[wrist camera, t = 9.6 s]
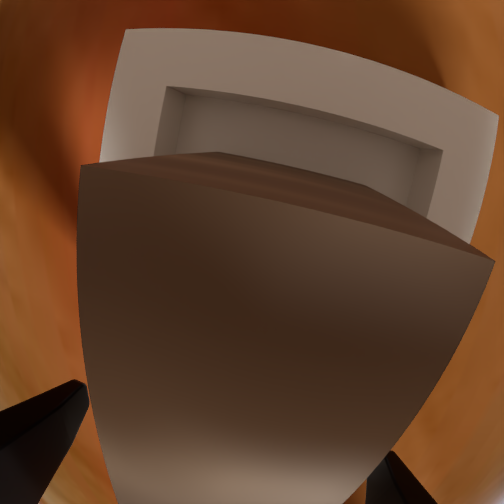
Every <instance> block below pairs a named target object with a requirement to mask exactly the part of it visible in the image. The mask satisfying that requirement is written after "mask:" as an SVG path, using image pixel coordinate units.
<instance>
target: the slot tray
mask: <svg viewBox="0 0 504 504" xmlns="http://www.w3.org/2000/svg"><path fill="white" fill-rule="evenodd" d="M498 119H499V116H498V115H497V114H495V113H493V112H491V111H489V110H488V109H486V108H484V107H482V106H480V105H478V104H476V103H474V102H472V101H470V100H468V99H466V98H464V97H462V96H460V95H458V94H456V93H454V92H452V91H450V90H448V89H445V88H443V87H441V86H439V85H436V84H434V83H432V82H429V81H427V80H424V79H422V78H420V77H417V76H414V75H412V74H409V73H407V72H404V71H401V70H399V69H396V68H393V67H390V66H387V65H384V64H381V63H378V62H375V61H372V60H369V59H366V58H362V57H359V56H355V55H352V54H348V53H345V52H341V51H337V50H333V49H329V48H325V47H321V46H317V45H312V44H308V43H303V42H298V41H293V40H287V39H282V38H276V37H270V36H263V35H256V34H248V33H240V32H230V31H219V30H206V29H184V28H144V29H126V31H125V34H124V38H123V41H122V45H121V49H120V53H119V57H118V61H117V65H116V69H115V74H114V78H113V83H112V87H111V92H110V97H109V103H108V108H107V114H106V120H105V126H104V132H103V139H102V146H101V154H100V162H108V161H115V160H124V159H132V158H141V157H151V156H162V155H174V154H187V153H203V152H223V153H228V154H234V155H239V156H244V157H249V158H254V159H259V160H264V161H269V162H274V163H278V164H283V165H287V166H292V167H296V168H300V169H304V170H309V171H313V172H317V173H321V174H325V175H329V176H333V177H337V178H340V179H344V180H348V181H352V182H355V183H359V184H363V185H366V186H368V187H370V188H372V189H374V190H376V191H377V192H379V193H381V194H383V195H385V196H387V197H389V198H391V199H393V200H395V201H396V202H398V203H400V204H402V205H404V206H406V207H407V208H409V209H411V210H413V211H415V212H416V213H418V214H420V215H422V216H423V217H425V218H427V219H429V220H430V221H432V222H434V223H436V224H437V225H439V226H441V227H442V228H444V229H446V230H447V231H449V232H451V233H452V234H454V235H455V236H457V237H459V238H460V239H462V240H463V241H465V242H467V243H468V244H470V241H471V238H472V235H473V232H474V229H475V225H476V222H477V219H478V215H479V212H480V208H481V204H482V201H483V197H484V193H485V189H486V184H487V180H488V176H489V171H490V166H491V161H492V156H493V151H494V145H495V139H496V133H497V126H498ZM100 162H99V163H100Z"/></svg>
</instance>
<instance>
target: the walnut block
mask: <svg viewBox="0 0 504 504" xmlns="http://www.w3.org/2000/svg"><path fill="white" fill-rule="evenodd" d="M494 263H495V261H494V260H493V259H491V258H490V257H488V256H487V255H485V254H484V253H482V252H481V251H479V250H478V249H476V248H474V247H473V246H471V245H470V244H468V243H467V242H465V241H463V240H462V239H460V238H459V237H457V236H455V235H454V234H452V233H451V232H449V231H447V230H446V229H444V228H442V227H441V226H439V225H437V224H436V223H434V222H432V221H430V220H429V219H427V218H425V217H423V216H422V215H420V214H418V213H416V212H415V211H413V210H411V209H409V208H407V207H406V206H404V205H402V204H400V203H398V202H396V201H395V200H393V199H391V198H389V197H387V196H385V195H383V194H381V193H379V192H377V191H376V190H374V189H372V188H370V187H368V186H366V185H363V184H359V183H355V182H352V181H348V180H344V179H340V178H337V177H333V176H329V175H325V174H321V173H317V172H313V171H309V170H304V169H300V168H296V167H292V166H287V165H283V164H278V163H274V162H269V161H264V160H259V159H254V158H249V157H244V156H239V155H234V154H228V153H223V152H203V153H187V154H174V155H162V156H151V157H141V158H132V159H124V160H115V161H108V162H100V163H93V164H86V165H81V169H80V180H79V194H78V212H77V286H78V304H79V317H80V328H81V338H82V347H83V355H84V362H85V369H86V376H87V382H88V388H89V394H90V399H91V404H92V409H93V414H94V419H95V424H96V428H97V432H98V437H99V441H100V445H101V449H102V452H103V456H104V460H105V463H106V467H107V470H108V474H109V477H110V480H111V483H112V486H113V490H114V493H115V496H116V498H117V501H118V504H343V503H344V502H345V501H346V500H347V499H348V498H349V497H350V496H351V495H352V494H353V493H354V491H355V490H356V489H357V488H358V487H359V486H360V485H361V484H362V483H363V482H364V481H365V480H366V478H367V477H368V476H369V475H370V474H371V473H372V472H373V470H374V469H375V468H376V467H377V466H378V465H379V463H380V462H381V461H382V460H383V459H384V457H385V456H386V455H387V454H388V452H389V451H390V450H391V449H392V447H393V446H394V445H395V443H396V442H397V441H398V440H399V438H400V437H401V436H402V434H403V433H404V431H405V430H406V429H407V427H408V426H409V425H410V423H411V422H412V420H413V419H414V418H415V416H416V415H417V413H418V412H419V410H420V409H421V407H422V406H423V404H424V403H425V401H426V400H427V398H428V397H429V395H430V393H431V392H432V390H433V389H434V387H435V385H436V384H437V382H438V381H439V379H440V377H441V376H442V374H443V372H444V370H445V369H446V367H447V365H448V363H449V362H450V360H451V358H452V356H453V354H454V353H455V351H456V349H457V347H458V345H459V343H460V341H461V339H462V337H463V335H464V333H465V331H466V329H467V327H468V325H469V323H470V321H471V319H472V317H473V315H474V312H475V310H476V308H477V306H478V303H479V301H480V299H481V296H482V294H483V292H484V289H485V287H486V284H487V282H488V279H489V277H490V274H491V272H492V269H493V266H494Z"/></svg>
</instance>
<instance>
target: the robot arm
mask: <svg viewBox="0 0 504 504" xmlns="http://www.w3.org/2000/svg"><path fill="white" fill-rule="evenodd" d="M88 407H89V396H88V391H87V386H86V384H85V383H83V382H80V381H78V380H75V379H74V380H71V381H68V382H66V383H64V384H62V385H60V386H57V387H55V388H53V389H51V390H48V391H46V392H44V393H42V394H39V395H37V396H35V397H33V398H30V399H28V400H26V401H23V402H21V403H19V404H16V405H14V406H12V407H9V408H7V409H5V410H2V411H0V504H38V503H39V501H40V499H41V497H42V495H43V494H44V492H45V490H46V488H47V487H48V485H49V483H50V481H51V480H52V478H53V476H54V474H55V473H56V471H57V469H58V467H59V466H60V464H61V462H62V461H63V459H64V457H65V455H66V454H67V452H68V450H69V449H70V447H71V445H72V443H73V441H74V439H75V437H76V434H77V432H78V430H79V427H80V425H81V423H82V421H83V418H84V416H85V414H86V412H87V410H88ZM365 504H437V502H436V501H435V500H434V499H433V498H432V497H431V495H430V494H429V493H428V492H427V491H426V489H425V488H424V487H423V486H422V485H421V483H420V482H419V481H418V480H417V479H416V477H415V476H414V475H413V474H412V473H411V471H410V470H409V469H408V468H407V467H406V465H405V464H404V463H403V462H402V460H401V459H400V458H399V457H398V456H397V454H396V453H395V452H394V451H391V450H390V451H389V452H388V454H387V455H386V456H385V457H384V459H383V460H382V461H381V462H380V463H379V465H378V466H377V467H376V468H375V469H374V470H373V472H372V473H371V474H370V475H369V476H368V477H367V486H366V501H365Z"/></svg>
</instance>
